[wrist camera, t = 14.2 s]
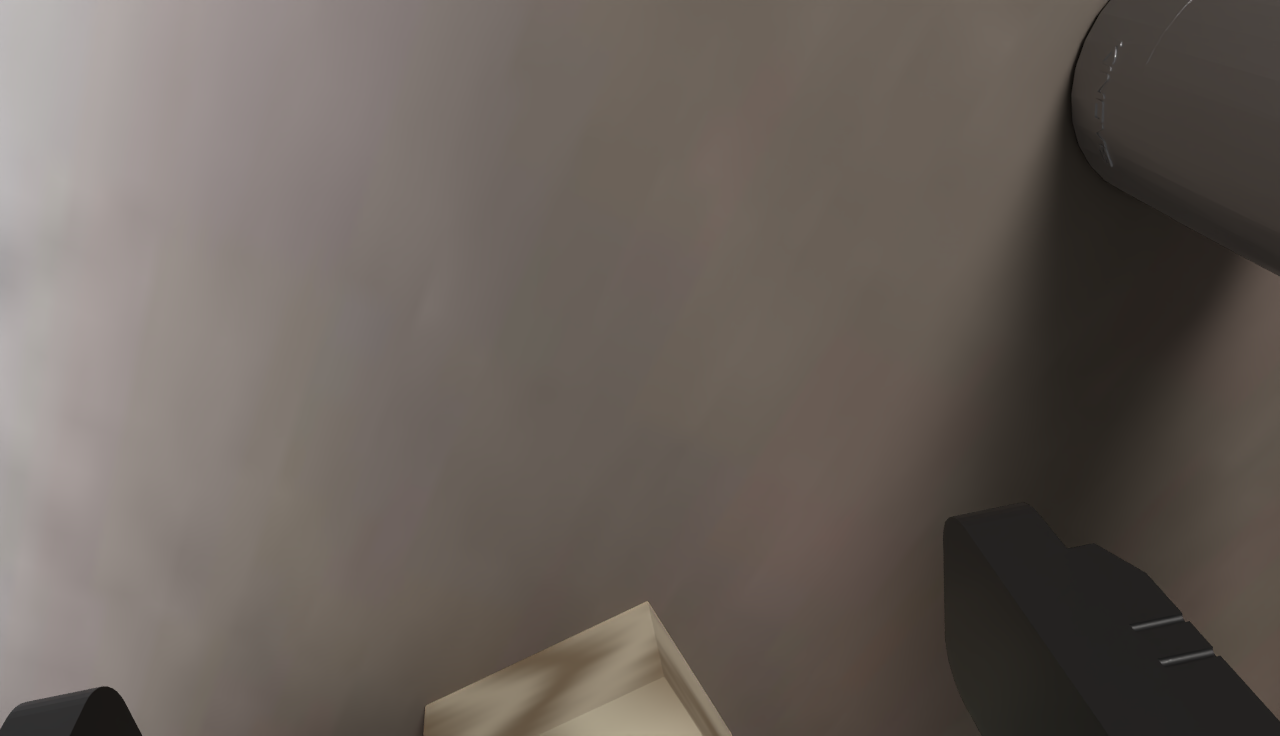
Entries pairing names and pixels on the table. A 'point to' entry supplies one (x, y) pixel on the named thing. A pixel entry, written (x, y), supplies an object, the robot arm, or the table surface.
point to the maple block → (587, 689)
